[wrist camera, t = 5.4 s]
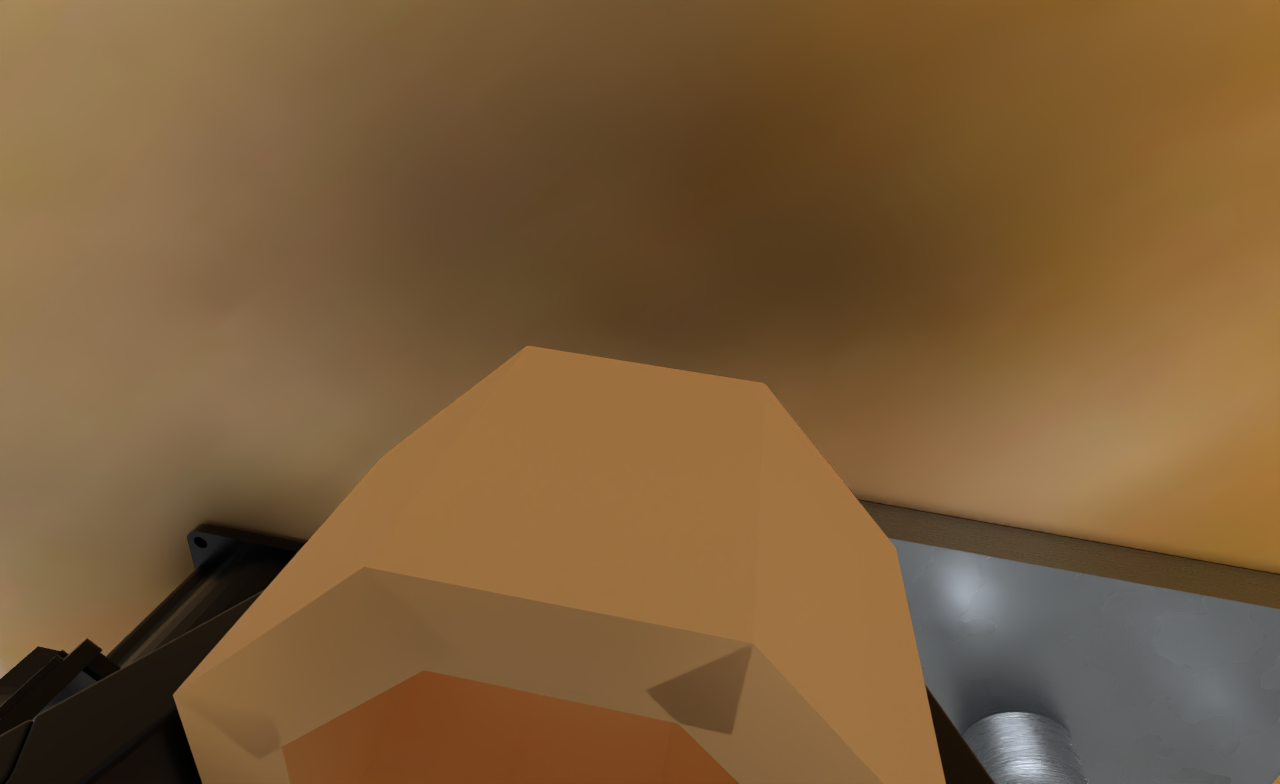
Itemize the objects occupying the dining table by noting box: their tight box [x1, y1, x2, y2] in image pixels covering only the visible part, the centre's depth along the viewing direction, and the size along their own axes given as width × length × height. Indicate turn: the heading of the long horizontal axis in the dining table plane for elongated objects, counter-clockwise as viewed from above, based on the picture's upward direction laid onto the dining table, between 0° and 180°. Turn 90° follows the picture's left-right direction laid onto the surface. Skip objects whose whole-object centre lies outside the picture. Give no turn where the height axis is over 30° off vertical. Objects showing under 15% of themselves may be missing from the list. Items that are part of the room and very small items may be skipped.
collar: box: [173, 346, 946, 784], centre depth 9 cm, size 7×7×4 cm
